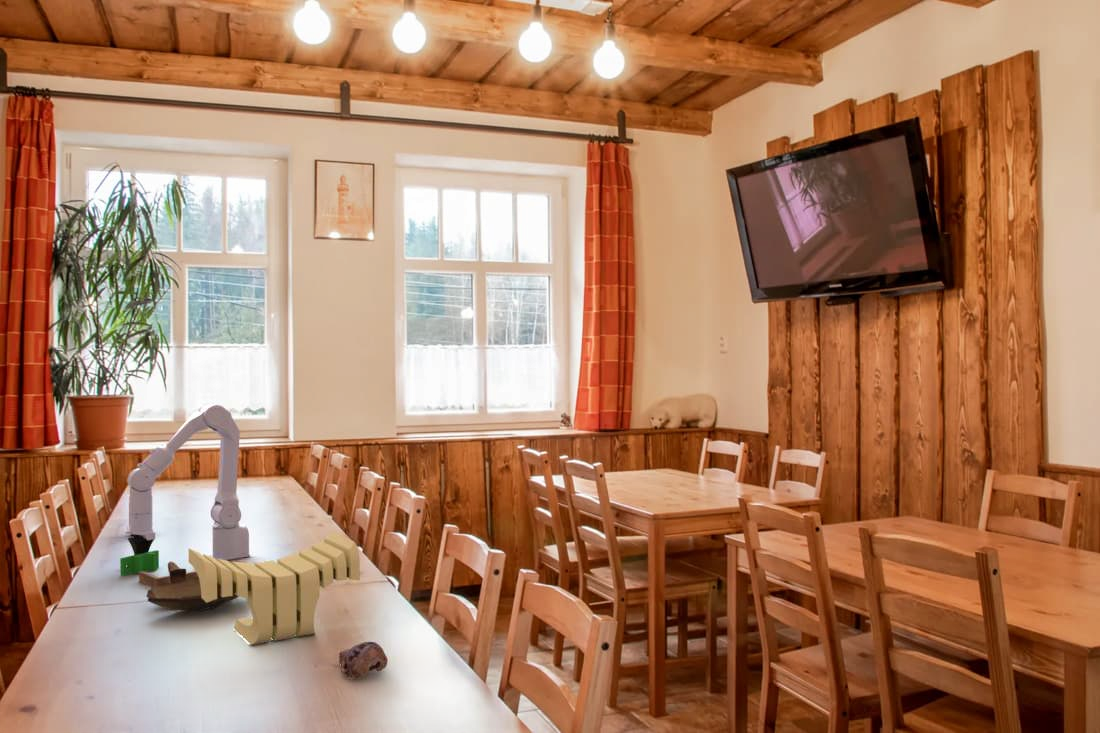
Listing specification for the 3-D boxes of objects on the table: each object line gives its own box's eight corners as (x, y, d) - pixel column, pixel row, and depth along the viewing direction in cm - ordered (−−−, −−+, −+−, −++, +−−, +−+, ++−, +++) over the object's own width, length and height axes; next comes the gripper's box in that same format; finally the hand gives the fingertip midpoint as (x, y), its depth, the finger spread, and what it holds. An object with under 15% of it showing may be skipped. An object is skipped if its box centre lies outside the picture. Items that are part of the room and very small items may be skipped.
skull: (329, 667, 159) (328, 633, 159) (369, 659, 163) (369, 626, 163) (351, 687, 149) (351, 651, 149) (394, 679, 153) (394, 643, 153)
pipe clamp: (130, 577, 230) (130, 559, 230) (120, 575, 231) (120, 558, 231) (165, 567, 240) (165, 550, 240) (155, 566, 241) (155, 549, 241)
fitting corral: (209, 569, 237) (209, 560, 237) (228, 576, 230) (228, 566, 230) (139, 581, 224) (138, 571, 224) (156, 589, 216) (156, 578, 216)
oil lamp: (142, 628, 184) (142, 592, 184) (149, 594, 212) (149, 562, 212) (255, 617, 192) (255, 581, 192) (248, 585, 220) (247, 555, 220)
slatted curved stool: (206, 657, 165) (206, 562, 165) (189, 636, 178) (188, 548, 178) (360, 630, 181) (359, 543, 181) (333, 612, 194) (332, 532, 194)
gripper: (115, 511, 241) (115, 561, 241) (135, 517, 231) (136, 569, 231) (142, 508, 246) (142, 557, 246) (163, 514, 236) (163, 565, 236)
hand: (141, 563), depth 239 cm, fingers closed
